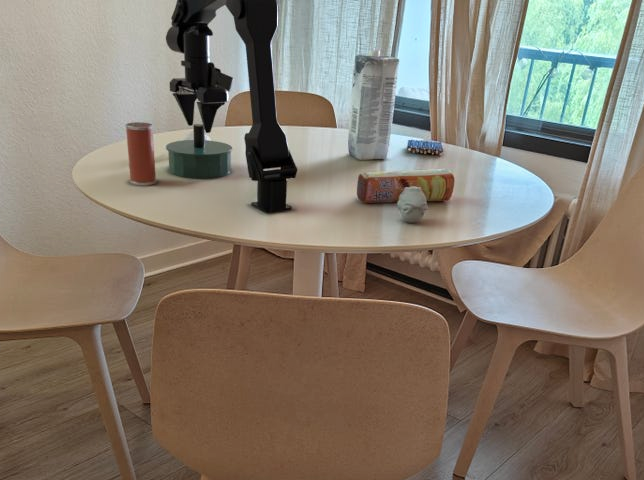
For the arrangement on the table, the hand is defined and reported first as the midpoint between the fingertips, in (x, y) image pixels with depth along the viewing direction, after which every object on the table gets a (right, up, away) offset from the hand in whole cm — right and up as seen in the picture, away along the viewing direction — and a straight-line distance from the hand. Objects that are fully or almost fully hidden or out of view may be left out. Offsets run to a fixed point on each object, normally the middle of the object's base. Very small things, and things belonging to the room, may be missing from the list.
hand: (199, 129), depth 153 cm
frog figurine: (+47, -27, -21) cm, 58 cm away
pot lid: (0, -4, +2) cm, 5 cm away
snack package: (+47, -19, -8) cm, 52 cm away
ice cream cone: (-4, -1, +19) cm, 19 cm away
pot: (-1, -8, +5) cm, 10 cm away
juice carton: (+43, +2, +28) cm, 51 cm away
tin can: (-12, -14, -7) cm, 20 cm away
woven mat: (+61, +8, +38) cm, 72 cm away
